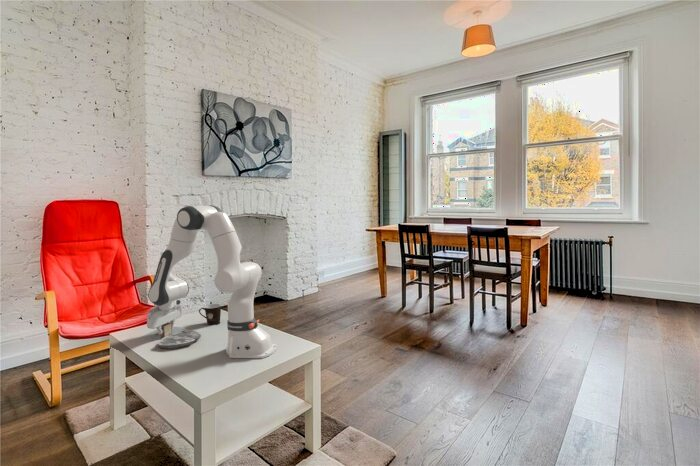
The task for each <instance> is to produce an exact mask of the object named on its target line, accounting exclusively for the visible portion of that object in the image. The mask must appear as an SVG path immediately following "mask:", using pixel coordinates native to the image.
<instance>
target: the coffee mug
mask: <svg viewBox="0 0 700 466" xmlns="http://www.w3.org/2000/svg"><path fill="white" fill-rule="evenodd" d="M201 310H203V311H204V312H205V315H204V314H202V313H201ZM221 312H222V304H220V303H211V304H207V305H205V306H204V307H200V308H199V310H198V313H199V315H200V316H202V317H203V318H205V319H206V323H207V325H208V326H218V325H220V323H221V315H222V314H221Z"/></svg>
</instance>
